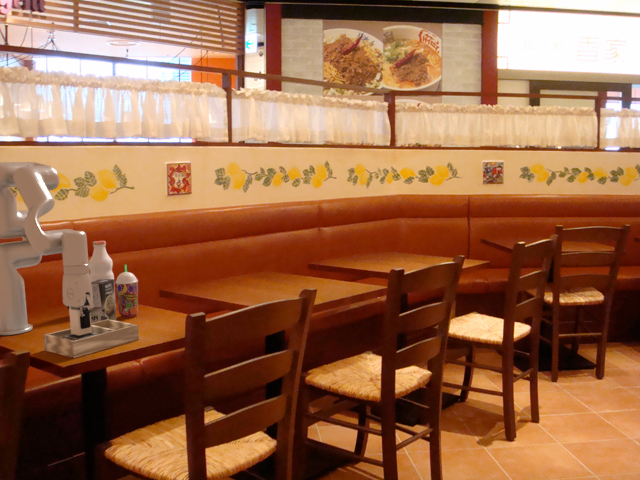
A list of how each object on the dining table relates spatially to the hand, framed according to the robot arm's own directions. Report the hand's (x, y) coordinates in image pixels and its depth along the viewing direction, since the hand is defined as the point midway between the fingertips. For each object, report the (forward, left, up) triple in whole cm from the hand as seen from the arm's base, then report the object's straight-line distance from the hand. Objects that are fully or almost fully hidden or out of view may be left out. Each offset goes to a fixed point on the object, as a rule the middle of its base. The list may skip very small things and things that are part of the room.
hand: (80, 326), depth 211 cm
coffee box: (-21, +23, -7) cm, 32 cm away
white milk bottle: (-40, +37, -7) cm, 55 cm away
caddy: (0, +4, -7) cm, 8 cm away
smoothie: (-23, +36, -7) cm, 43 cm away
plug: (0, 0, -2) cm, 2 cm away
